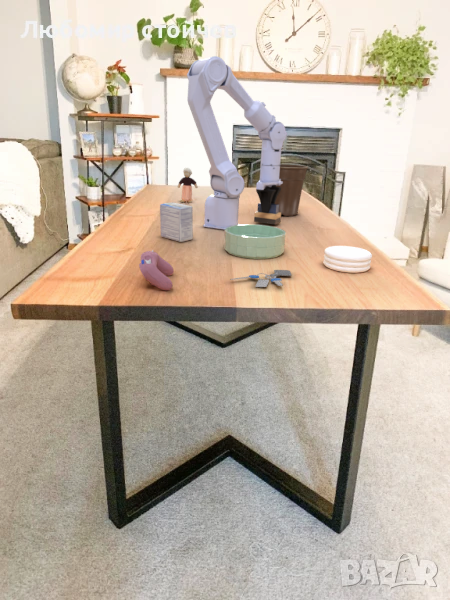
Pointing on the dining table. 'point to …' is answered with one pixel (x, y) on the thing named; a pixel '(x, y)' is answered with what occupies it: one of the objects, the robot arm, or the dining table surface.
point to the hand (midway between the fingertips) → (267, 211)
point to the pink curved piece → (156, 270)
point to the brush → (268, 215)
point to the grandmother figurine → (187, 186)
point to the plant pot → (290, 188)
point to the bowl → (254, 241)
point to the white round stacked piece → (347, 259)
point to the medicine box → (176, 221)
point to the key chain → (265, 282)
